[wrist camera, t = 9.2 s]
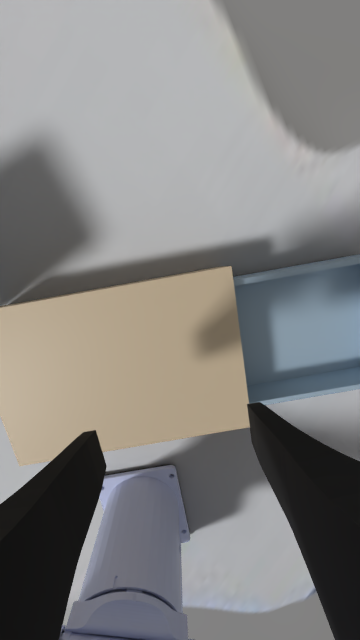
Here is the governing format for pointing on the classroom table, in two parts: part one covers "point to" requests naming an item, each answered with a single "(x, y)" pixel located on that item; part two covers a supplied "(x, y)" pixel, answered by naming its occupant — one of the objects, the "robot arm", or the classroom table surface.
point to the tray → (300, 330)
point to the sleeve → (123, 365)
